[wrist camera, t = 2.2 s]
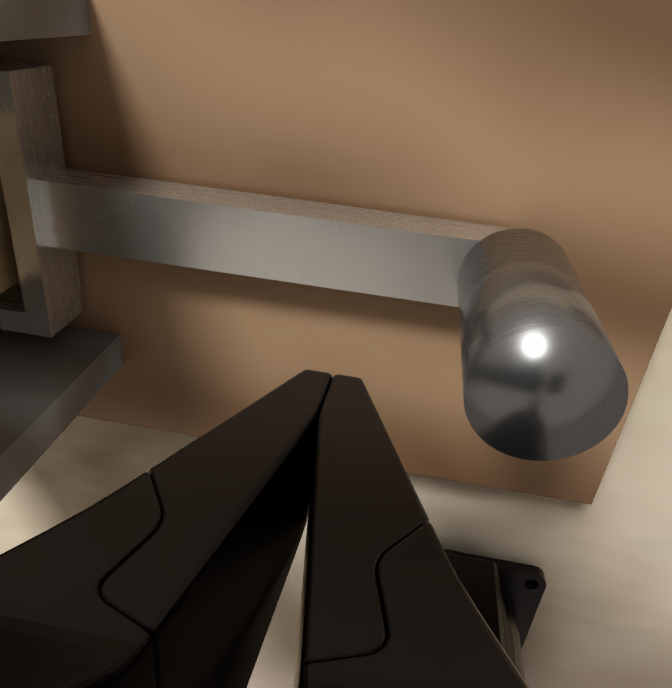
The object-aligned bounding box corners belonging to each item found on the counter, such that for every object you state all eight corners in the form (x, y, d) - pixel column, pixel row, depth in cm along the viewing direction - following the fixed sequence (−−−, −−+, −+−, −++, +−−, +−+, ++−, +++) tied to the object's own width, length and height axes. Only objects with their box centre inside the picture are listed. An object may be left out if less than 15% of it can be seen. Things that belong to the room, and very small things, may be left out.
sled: (527, 379, 16) (567, 554, 11) (-123, 278, 17) (-354, 387, 12) (600, 130, 13) (705, 211, 8) (-198, 35, 14) (-545, 50, 9)
